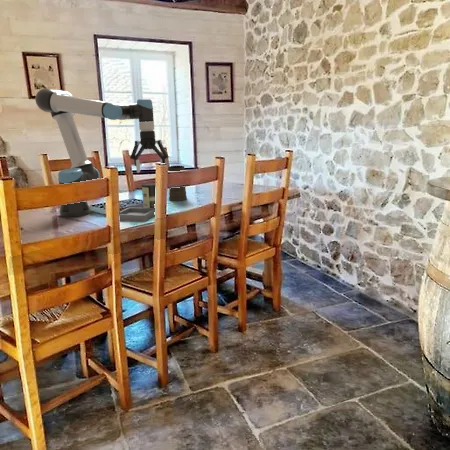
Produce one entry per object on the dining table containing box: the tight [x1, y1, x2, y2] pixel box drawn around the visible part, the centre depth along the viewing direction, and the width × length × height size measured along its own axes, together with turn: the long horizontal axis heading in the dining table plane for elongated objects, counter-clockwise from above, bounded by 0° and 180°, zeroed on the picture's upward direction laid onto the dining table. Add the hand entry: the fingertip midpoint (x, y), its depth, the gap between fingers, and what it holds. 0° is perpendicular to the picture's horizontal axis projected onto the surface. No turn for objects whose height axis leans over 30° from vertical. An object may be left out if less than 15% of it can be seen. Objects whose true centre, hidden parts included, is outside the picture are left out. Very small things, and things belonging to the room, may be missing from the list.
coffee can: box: [140, 182, 155, 208], centre depth 209 cm, size 10×10×14 cm
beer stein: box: [167, 165, 188, 202], centre depth 236 cm, size 15×11×20 cm
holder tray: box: [119, 207, 155, 222], centre depth 195 cm, size 16×16×3 cm
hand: (150, 172), depth 205 cm, fingers open, 13 cm apart
